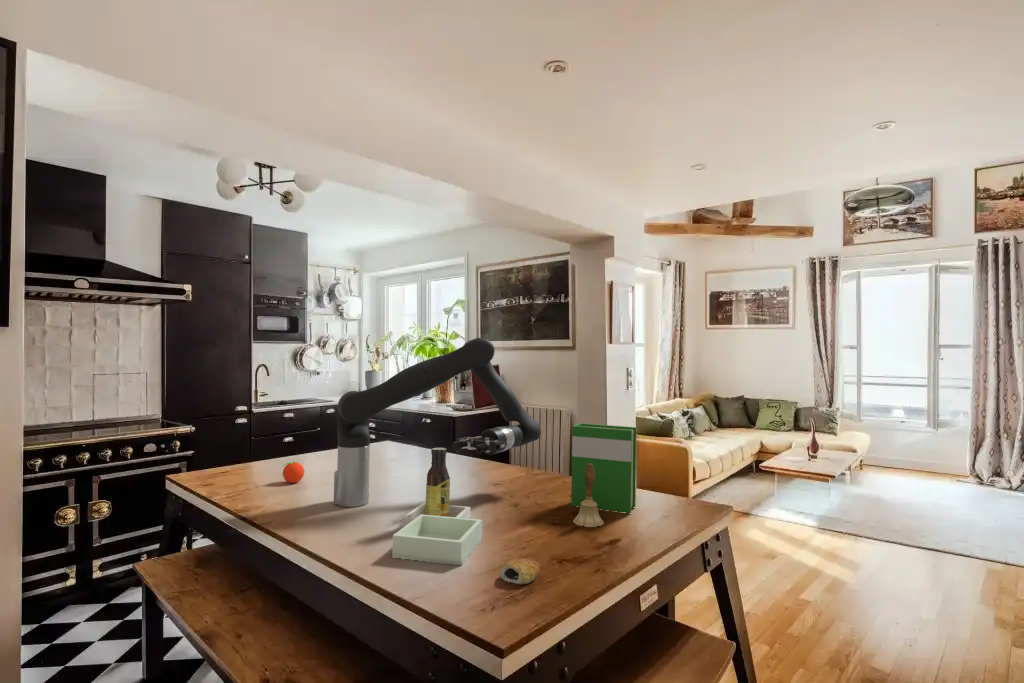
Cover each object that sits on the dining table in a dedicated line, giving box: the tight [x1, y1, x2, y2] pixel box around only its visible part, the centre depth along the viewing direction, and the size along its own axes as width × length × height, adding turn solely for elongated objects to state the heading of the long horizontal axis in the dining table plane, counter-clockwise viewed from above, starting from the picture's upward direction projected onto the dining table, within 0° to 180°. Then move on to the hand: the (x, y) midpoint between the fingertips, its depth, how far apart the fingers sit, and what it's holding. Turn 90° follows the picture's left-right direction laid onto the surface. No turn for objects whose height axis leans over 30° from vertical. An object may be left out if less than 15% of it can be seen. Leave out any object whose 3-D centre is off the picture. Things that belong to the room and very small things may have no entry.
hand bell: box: [572, 463, 605, 528], centre depth 147 cm, size 8×8×16 cm
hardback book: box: [570, 422, 637, 514], centre depth 162 cm, size 18×7×24 cm, turn 66°
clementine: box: [282, 461, 305, 484], centre depth 184 cm, size 8×7×7 cm
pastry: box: [498, 557, 541, 586], centre depth 112 cm, size 9×7×4 cm
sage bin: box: [391, 514, 483, 566], centre depth 126 cm, size 16×16×5 cm
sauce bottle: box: [425, 447, 451, 517], centre depth 144 cm, size 6×6×20 cm
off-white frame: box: [401, 502, 471, 529], centre depth 144 cm, size 14×14×3 cm
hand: (465, 448), depth 153 cm, fingers open, 8 cm apart
